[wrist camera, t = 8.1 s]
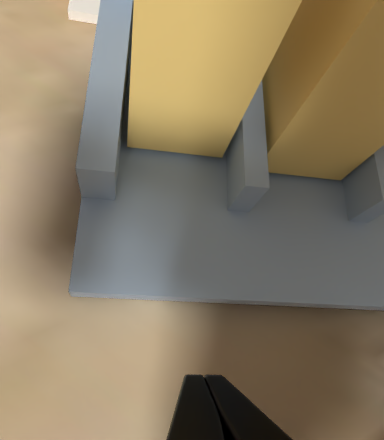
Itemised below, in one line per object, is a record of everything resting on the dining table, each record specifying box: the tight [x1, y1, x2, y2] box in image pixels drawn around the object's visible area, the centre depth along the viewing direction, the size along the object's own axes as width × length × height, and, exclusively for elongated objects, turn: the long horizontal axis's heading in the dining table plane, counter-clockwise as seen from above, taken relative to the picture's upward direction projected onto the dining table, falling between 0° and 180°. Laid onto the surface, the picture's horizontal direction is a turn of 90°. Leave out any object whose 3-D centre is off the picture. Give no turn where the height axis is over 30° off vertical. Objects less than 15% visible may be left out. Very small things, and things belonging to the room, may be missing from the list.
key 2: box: [127, 0, 302, 158], centre depth 13 cm, size 5×4×10 cm
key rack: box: [68, 0, 384, 311], centre depth 17 cm, size 14×20×5 cm
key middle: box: [262, 0, 384, 180], centre depth 14 cm, size 5×4×10 cm
